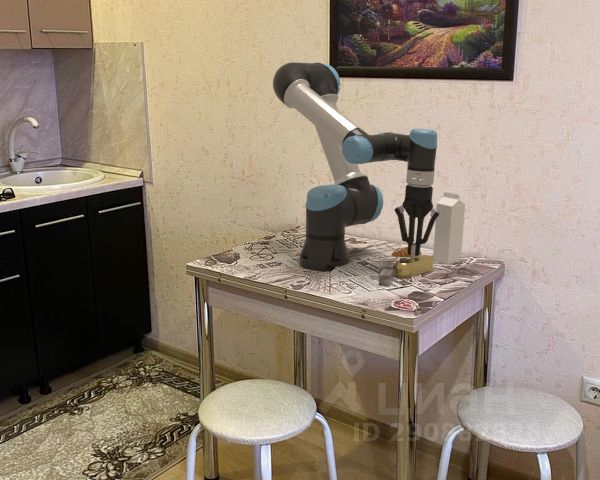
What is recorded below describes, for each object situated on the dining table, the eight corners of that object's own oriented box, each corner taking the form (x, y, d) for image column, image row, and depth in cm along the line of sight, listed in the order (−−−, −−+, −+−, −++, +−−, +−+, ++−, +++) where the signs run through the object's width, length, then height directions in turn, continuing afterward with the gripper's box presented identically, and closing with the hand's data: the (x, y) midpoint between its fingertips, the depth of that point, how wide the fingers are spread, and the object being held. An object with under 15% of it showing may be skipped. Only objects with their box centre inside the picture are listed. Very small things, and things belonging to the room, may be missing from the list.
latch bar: (403, 279, 182) (404, 265, 181) (391, 275, 185) (392, 261, 184) (434, 271, 190) (435, 257, 189) (423, 267, 193) (423, 254, 192)
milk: (447, 268, 198) (452, 195, 192) (432, 263, 202) (436, 192, 197) (460, 265, 201) (466, 193, 196) (445, 260, 206) (450, 190, 201)
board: (365, 289, 177) (366, 267, 175) (382, 266, 199) (383, 246, 197) (430, 297, 172) (431, 274, 170) (439, 272, 194) (441, 251, 192)
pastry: (397, 263, 203) (397, 251, 202) (386, 257, 209) (387, 246, 208) (423, 260, 206) (424, 248, 205) (412, 255, 212) (413, 243, 212)
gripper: (394, 184, 184) (388, 266, 190) (439, 189, 180) (431, 272, 185) (400, 181, 191) (394, 259, 196) (444, 185, 186) (436, 265, 192)
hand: (412, 265), depth 191 cm, fingers closed
